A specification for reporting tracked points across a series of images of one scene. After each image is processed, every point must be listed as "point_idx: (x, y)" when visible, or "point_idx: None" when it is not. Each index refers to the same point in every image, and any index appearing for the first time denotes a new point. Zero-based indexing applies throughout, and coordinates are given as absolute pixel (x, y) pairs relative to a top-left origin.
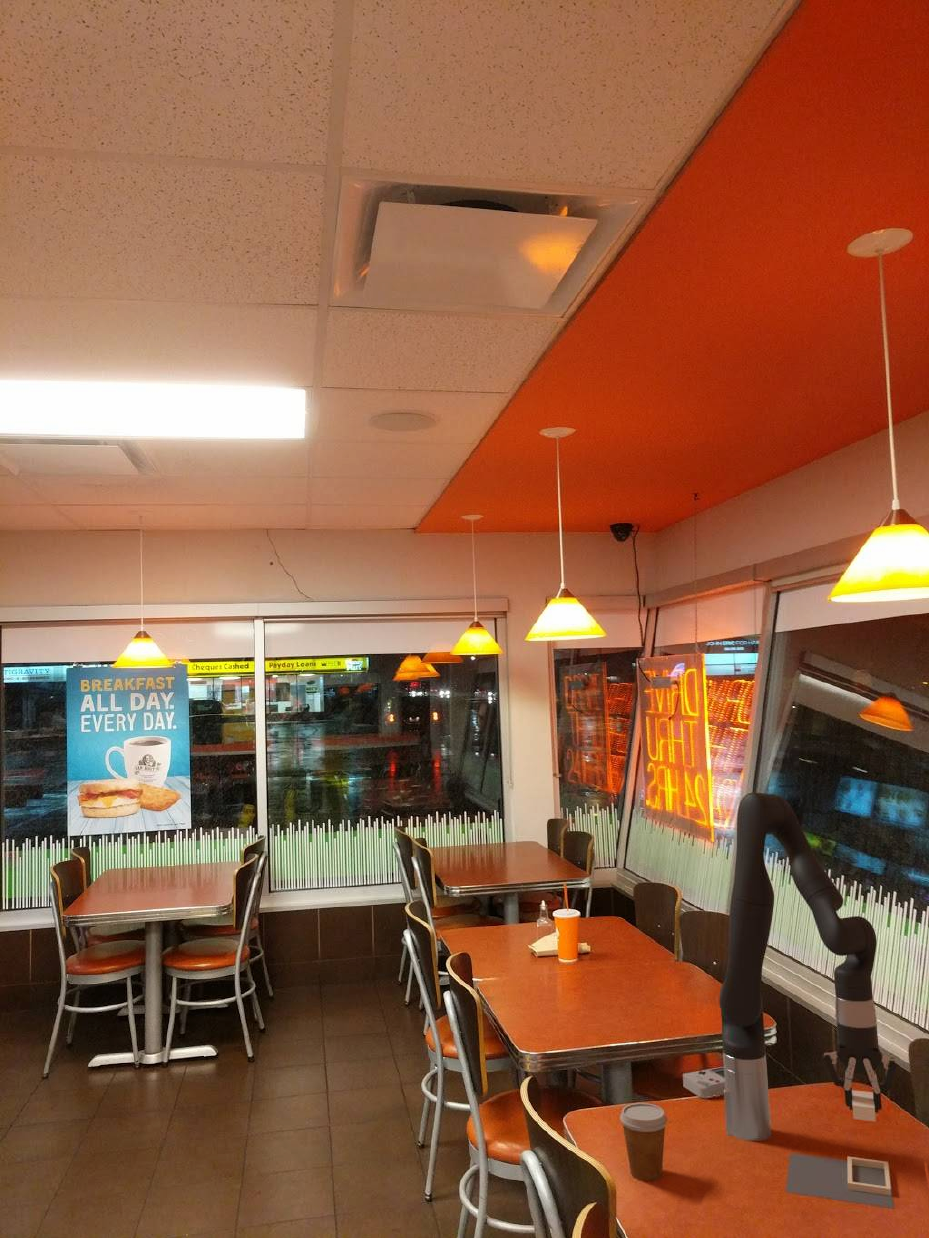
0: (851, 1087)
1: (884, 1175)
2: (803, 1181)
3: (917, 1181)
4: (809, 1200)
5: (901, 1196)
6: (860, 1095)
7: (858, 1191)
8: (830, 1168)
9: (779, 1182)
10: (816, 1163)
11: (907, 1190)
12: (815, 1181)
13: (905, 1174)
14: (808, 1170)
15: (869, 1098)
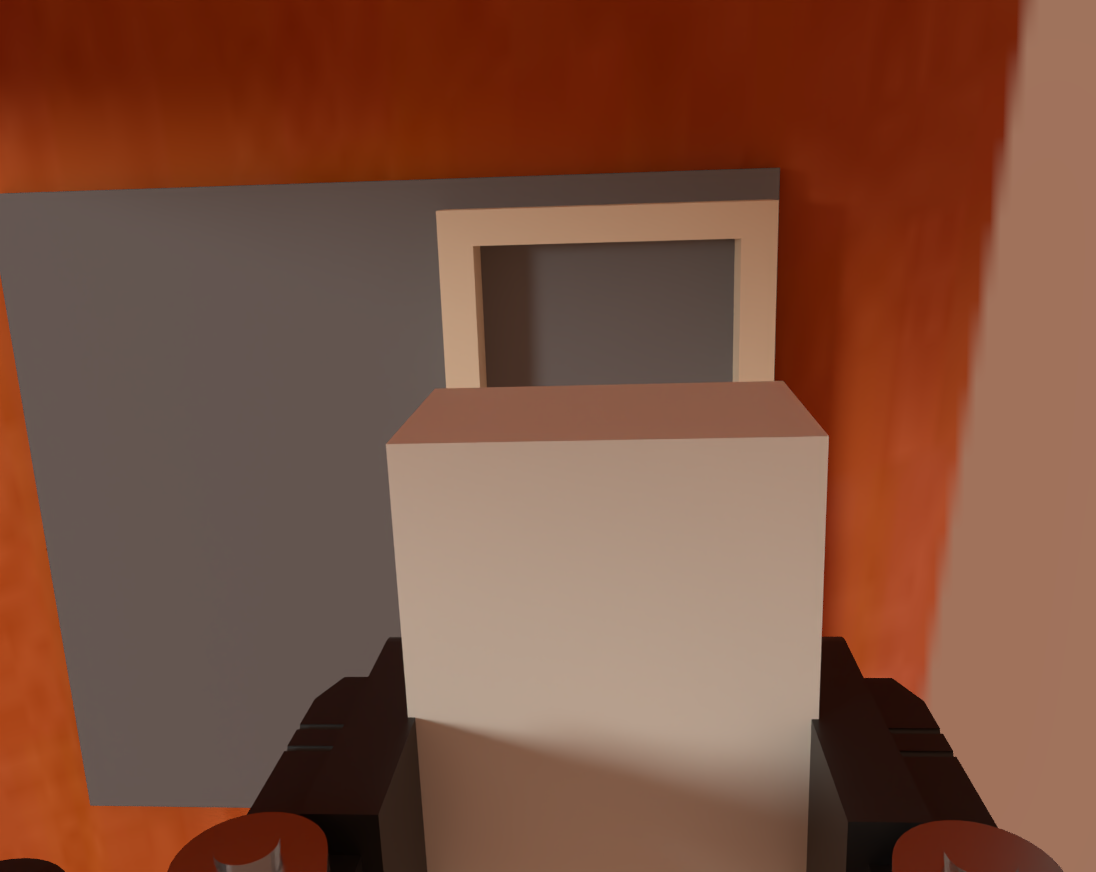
0: (374, 819)
1: (729, 347)
2: (170, 638)
3: (975, 304)
4: (247, 811)
5: (826, 583)
6: (565, 676)
7: None
8: (323, 367)
9: (27, 643)
10: (212, 318)
11: (878, 480)
12: (246, 610)
13: (895, 208)
14: (174, 460)
15: (734, 776)
